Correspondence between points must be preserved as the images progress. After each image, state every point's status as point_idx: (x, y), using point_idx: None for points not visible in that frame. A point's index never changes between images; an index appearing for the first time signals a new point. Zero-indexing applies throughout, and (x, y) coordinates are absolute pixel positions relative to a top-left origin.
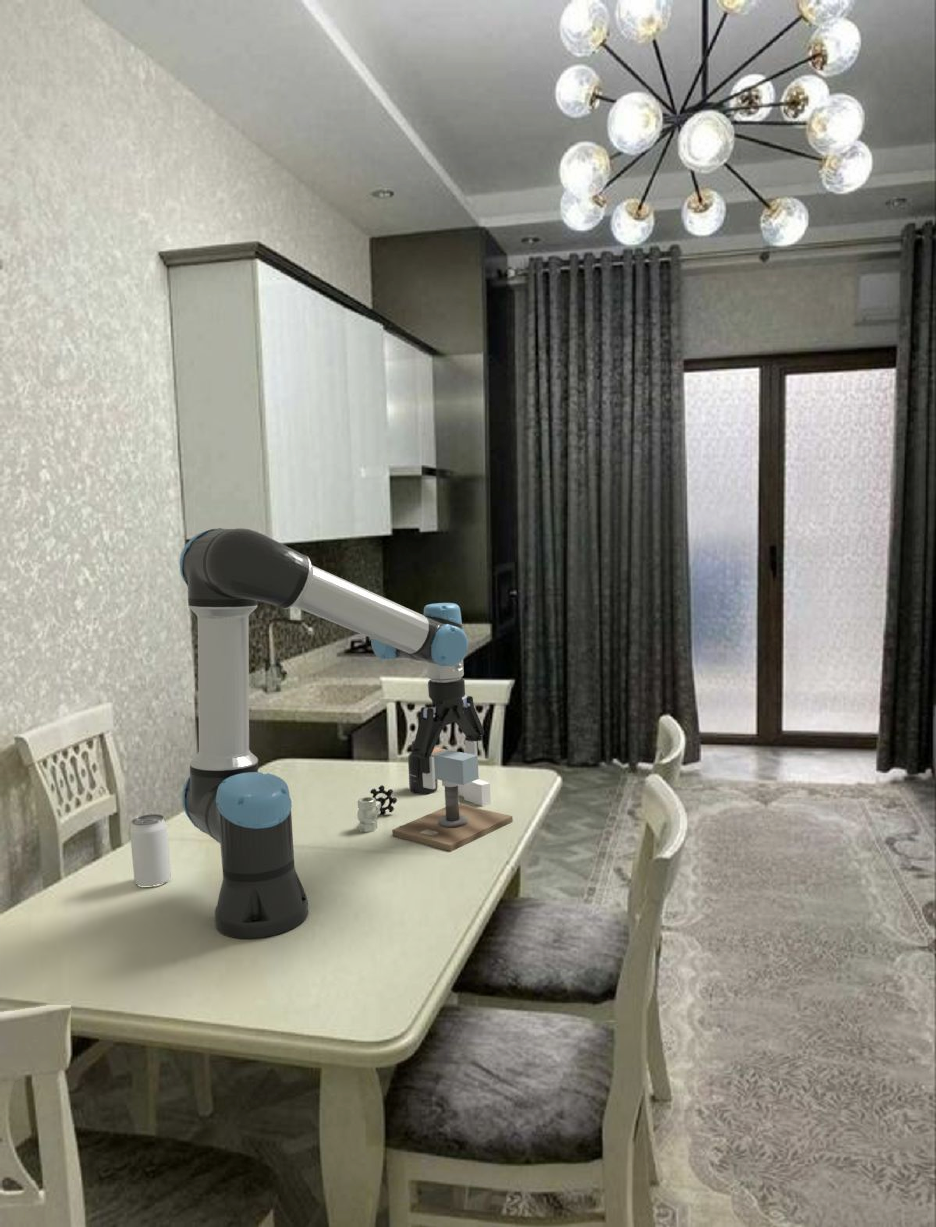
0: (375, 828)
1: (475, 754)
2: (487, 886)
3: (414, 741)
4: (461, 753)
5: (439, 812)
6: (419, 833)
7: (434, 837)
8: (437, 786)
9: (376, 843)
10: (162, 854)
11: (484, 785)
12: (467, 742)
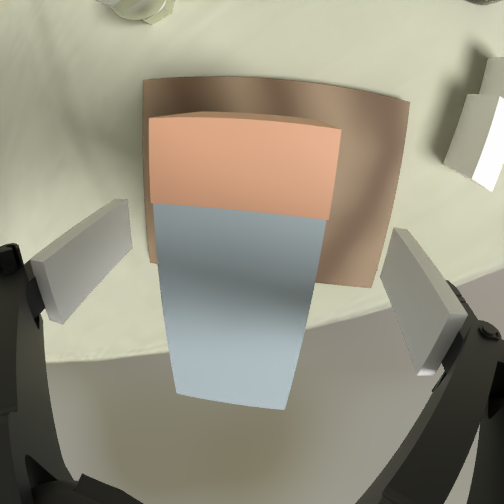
0: (159, 18)
1: (401, 326)
2: (109, 354)
3: None
4: (280, 350)
5: (322, 100)
6: None
7: None
8: (488, 4)
9: (100, 91)
10: None
11: (477, 182)
12: (437, 327)
